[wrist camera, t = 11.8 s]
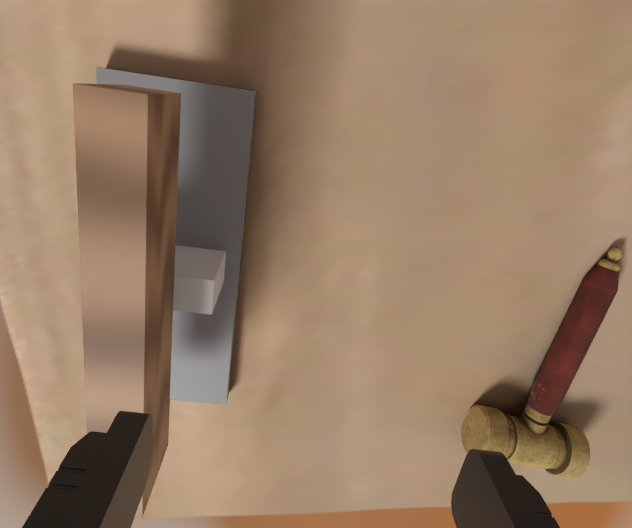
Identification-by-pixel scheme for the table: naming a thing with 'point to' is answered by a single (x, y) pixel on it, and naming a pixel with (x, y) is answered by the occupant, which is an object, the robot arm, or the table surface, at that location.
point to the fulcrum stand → (205, 228)
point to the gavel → (551, 389)
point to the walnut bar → (127, 253)
